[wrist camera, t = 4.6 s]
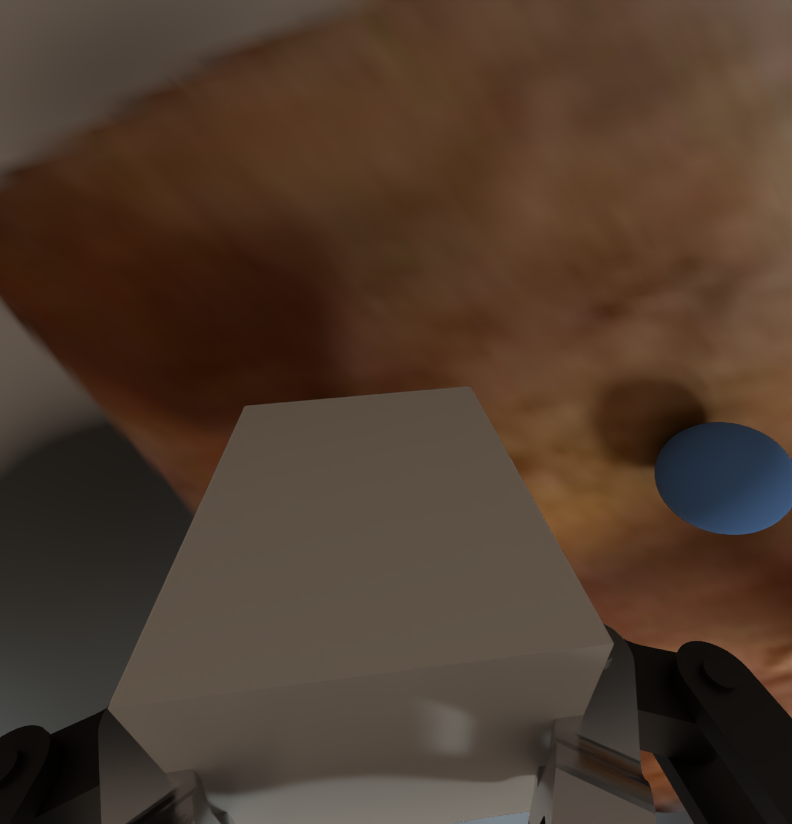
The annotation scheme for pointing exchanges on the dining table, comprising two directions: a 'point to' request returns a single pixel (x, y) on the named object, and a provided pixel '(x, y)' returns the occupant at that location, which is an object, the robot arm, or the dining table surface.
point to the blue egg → (725, 478)
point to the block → (364, 621)
